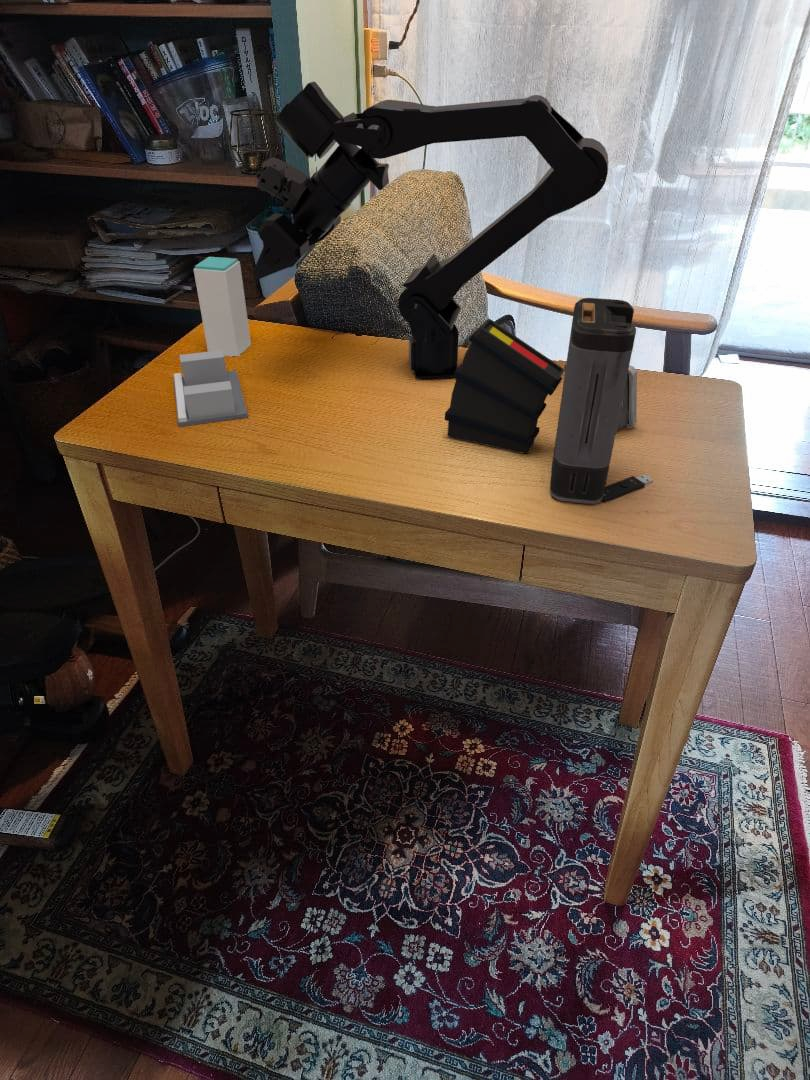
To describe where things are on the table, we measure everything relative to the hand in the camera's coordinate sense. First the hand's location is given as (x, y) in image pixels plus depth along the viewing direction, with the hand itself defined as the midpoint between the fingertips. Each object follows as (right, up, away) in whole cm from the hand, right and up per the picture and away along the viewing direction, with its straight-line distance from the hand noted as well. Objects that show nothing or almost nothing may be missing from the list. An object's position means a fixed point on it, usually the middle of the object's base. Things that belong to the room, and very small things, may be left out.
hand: (267, 266), depth 105 cm
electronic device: (+40, -33, -20) cm, 55 cm away
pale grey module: (-8, -9, +10) cm, 16 cm away
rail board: (-7, -20, -4) cm, 21 cm away
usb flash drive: (+45, -34, -21) cm, 60 cm away
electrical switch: (+45, -24, -9) cm, 52 cm away
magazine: (+32, -27, -13) cm, 44 cm away
